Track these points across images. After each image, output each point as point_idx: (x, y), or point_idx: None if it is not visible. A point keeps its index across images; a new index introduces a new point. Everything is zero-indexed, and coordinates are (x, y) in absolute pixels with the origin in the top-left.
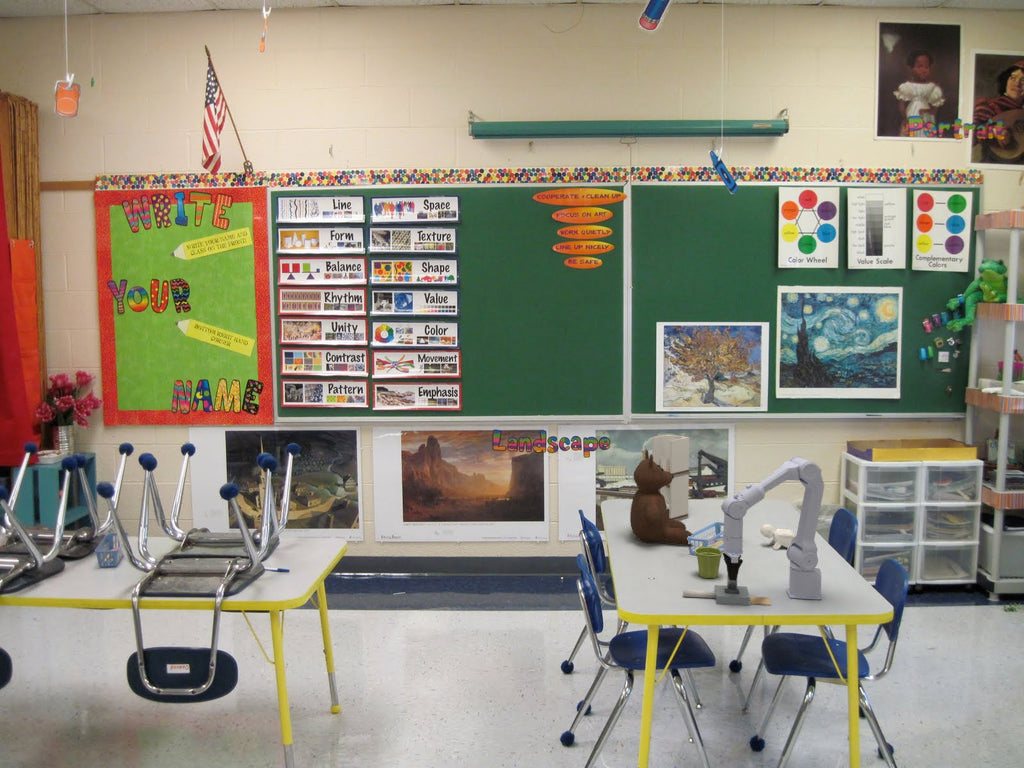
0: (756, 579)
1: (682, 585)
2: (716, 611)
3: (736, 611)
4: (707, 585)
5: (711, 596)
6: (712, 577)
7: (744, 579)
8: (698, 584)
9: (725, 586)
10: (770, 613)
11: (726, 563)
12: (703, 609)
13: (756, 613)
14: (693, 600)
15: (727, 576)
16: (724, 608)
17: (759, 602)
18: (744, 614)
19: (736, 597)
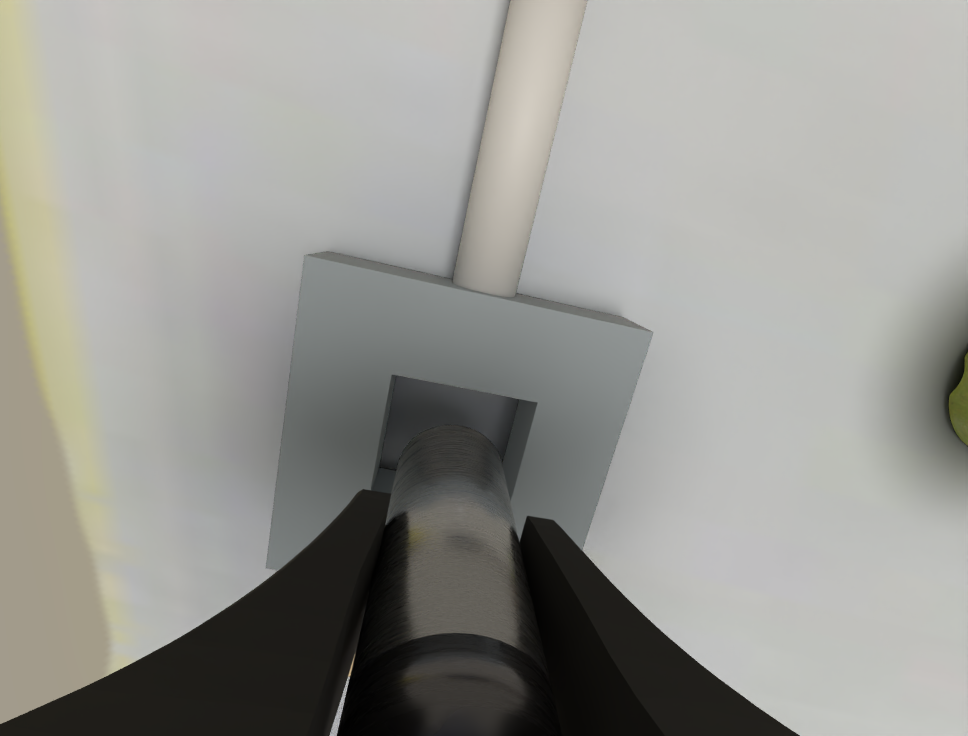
0: (824, 689)
1: (878, 35)
2: (117, 189)
3: (143, 381)
4: (807, 304)
5: (462, 239)
6: (955, 397)
7: (849, 619)
8: (855, 224)
9: (590, 430)
10: (131, 620)
11: (25, 725)
12: (160, 57)
13: (116, 526)
14: (431, 22)
15: (466, 498)
16: (211, 294)
17: None
18: (75, 429)
19: (280, 453)
